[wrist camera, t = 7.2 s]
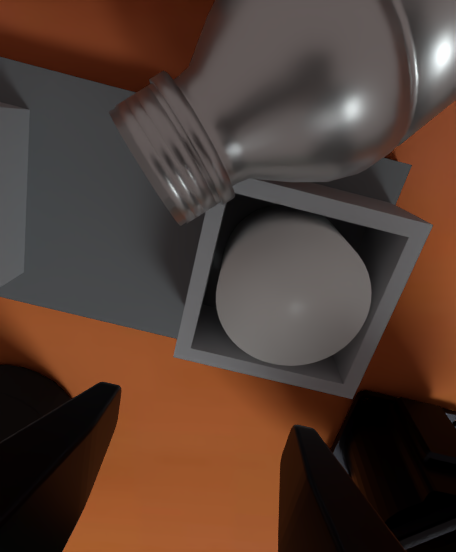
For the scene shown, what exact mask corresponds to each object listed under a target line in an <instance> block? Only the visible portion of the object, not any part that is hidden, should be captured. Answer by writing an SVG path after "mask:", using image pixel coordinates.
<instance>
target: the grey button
mask: <svg viewBox="0 0 456 552" xmlns="http://www.w3.org/2000/svg"><path fill="white" fill-rule="evenodd" d="M371 293H372V292H371V282H370V278H369V274H368V271H367V269H366V267H365V264H364V263H363V261H362V259H361V258H360V256H359V255H358V254H357V253H356V251H355V250H354V249H353V248H352V247H351V245H350V244H349V243H348V242H347V241H346V240H345V238H344V237H343V236H342V235H341V234H340V233H339V232H338V230H337V229H336V228H335V227H334V226H333V225H332V223H331V222H330V221H329V220H328V219H326V218H325V217H324V216H323V215H319V214H315V213H311V212H307V211H303V210H299V209H296V208H292V207H288V206H284V205H280V204H275V205H270V206H267V207H264V208H261V209H259V210H257V211H255V212H253V213H251V214H250V215H248V216H247V217H246V218H244V219H243V220H242V221H241V222H240V223H239V224H238V225H237V226H236V228H235V229H234V230H233V232H232V233H231V235H230V237H229V239H228V241H227V243H226V247H225V250H224V255H223V259H222V264H221V269H220V274H219V279H218V284H217V290H216V307H217V313H218V317H219V320H220V322H221V324H222V327H223V328H224V330H225V332H226V334H227V335H228V336H229V338H230V339H231V340H232V341H233V342H234V343H235V344H236V345H237V346H238V347H239V348H240V349H242V350H243V351H244V352H246V353H247V354H249V355H251V356H252V357H254V358H257V359H259V360H261V361H264V362H267V363H271V364H276V365H285V366H297V365H305V364H310V363H314V362H318V361H320V360H323V359H325V358H328V357H330V356H331V355H333V354H335V353H337V352H338V351H340V350H341V349H343V348H344V347H345V346H346V345H347V344H348V343H350V342H351V340H352V339H353V338H354V337H355V336H356V335H357V333H358V332H359V331H360V329H361V328H362V326H363V324H364V322H365V320H366V318H367V315H368V312H369V309H370V304H371Z"/></svg>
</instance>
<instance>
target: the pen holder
mask: <svg viewBox="0 0 456 552" xmlns="http://www.w3.org/2000/svg"><path fill="white" fill-rule="evenodd" d="M69 400H71V399H70V398H69V396H68V395H67V394H66V393H65V392H64V391H63V390H62V389H61V388H60V387H59V386H58V385H57V384H55V383H54V382H53V381H51V380H50V379H48V378H47V377H45V376H43V375H41V374H39V373H37V372H35V371H32V370H29V369H26V368H23V367H18V366H12V365H0V442H1V441H3V440H5V439H6V438H8V437H10V436H11V435H13V434H15V433H16V432H18V431H20V430H21V429H23V428H25V427H26V426H28V425H29V424H31V423H33V422H34V421H36V420H38V419H39V418H41V417H43V416H44V415H46V414H48V413H49V412H51V411H53V410H54V409H56V408H58V407H59V406H61V405H63V404H64V403H66V402H68V401H69Z"/></svg>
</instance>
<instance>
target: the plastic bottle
mask: <svg viewBox="0 0 456 552" xmlns="http://www.w3.org/2000/svg"><path fill="white" fill-rule="evenodd" d="M149 81H150V84H149V85H148V86H146V87H145V88H143V89H141V90H140V91H138V92H137V93H135V94H134V95H132V96H130V97H129V98H127V99H125V100H124V101H122V102H121V103H119V104H117V105H116V106H115V109H113V110H111V111H109V114H110V116H111V118H112V120H113V122H114V124H115V125H116V127H117V129H118V131H119V132H120V134H121V136H122V138H123V139H124V141H125V143H126V144H127V146H128V148H129V149H130V151H131V153H132V154H133V156H134V158H135V159H136V161H137V163H138V164H139V166H140V167H141V169H142V171H143V172H144V174H145V175H146V177H147V178H148V180H149V182H150V183H151V185H152V186H153V188H154V189H155V191H156V192H157V194H158V196H159V197H160V199H161V200H162V202H163V203H164V205H165V206H166V208H167V209H168V210H169V212H170V213H171V215H172V216H173V218H174V219H175V220H176V222H177V223H178V224H179V225H180V226H181V225H183V224H184V223H189V222H190V221H192V220H193V219H195V218H197V217H198V216H200V215H201V214H203V213H204V212H206V211H208V210H209V209H211V208H212V207H214V206H216V205H217V204H219V203H220V204H221V205H224V204H225V203H227V202H229V201H230V200H232V199H233V198H234V197H235V193H234V189H233V186H234V185H236V184H237V183H240V182H242V181H244V180H247V179H249V178H251V179H261V180H272V181H282V182H329V181H333V180H337V179H340V178H344V177H348V176H352V175H355V174H358V173H360V172H362V171H364V170H366V169H368V168H369V167H370V166H372V165H373V164H375V163H376V162H377V161H379V160H380V159H382V158H383V157H385V156H386V155H388V154H389V153H391V152H392V151H393V150H394V148H395V147H397V146H399V145H400V144H402V143H403V142H404V141H405V140H407V139H408V138H409V137H410V136H412V135H413V134H414V133H415V132H417V131H418V130H419V129H420V128H422V127H423V126H424V125H425V124H427V123H428V122H429V121H430V120H432V119H433V118H434V117H435V116H437V115H438V114H439V113H440V112H442V111H443V110H444V109H445V108H447V107H448V106H449V105H450V104H452V103H453V102H454V101H455V100H456V0H215V1H214V3H213V6H212V8H211V10H210V12H209V14H208V16H207V18H206V21H205V24H204V27H203V29H202V32H201V35H200V37H199V40H198V43H197V46H196V48H195V51H194V54H193V56H192V59H191V62H190V64H189V67H188V68H187V69H186V70H184V71H183V72H182V73H181V74H180V75H179V76H178V77H177V78H175V79H172V78H171V76H170V75H169V74H168V73H167V72H165V71H164V70H163V71H162V72H160V73H159V74H157V75H155V76H154V77H152V78H151V79H149Z"/></svg>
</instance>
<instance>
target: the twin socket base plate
mask: <svg viewBox="0 0 456 552" xmlns="http://www.w3.org/2000/svg"><path fill="white" fill-rule="evenodd" d="M135 93H136V92H132V91H128V90H124V89H121V88H117V87H113V86H109V85H105V84H102V83H98V82H94V81H90V80H86V79H83V78H79V77H75V76H71V75H67V74H64V73H60V72H56V71H52V70H48V69H45V68H41V67H37V66H33V65H29V64H26V63H22V62H18V61H14V60H10V59H7V58H3V57H0V297H4V298H8V299H12V300H16V301H20V302H25V303H29V304H33V305H37V306H41V307H46V308H50V309H54V310H58V311H62V312H67V313H71V314H75V315H79V316H83V317H88V318H92V319H96V320H100V321H104V322H109V323H113V324H117V325H121V326H125V327H130V328H134V329H138V330H142V331H146V332H151V333H155V334H159V335H163V336H167V337H172V338H176V339H177V343H176V347H175V352H174V356H173V357H176V358H180V359H184V360H188V361H193V362H197V363H201V364H205V365H209V366H214V367H218V368H222V369H226V370H231V371H235V372H239V373H243V374H248V375H252V376H256V377H260V378H265V379H269V380H273V381H277V382H282V383H286V384H290V385H294V386H299V387H303V388H307V389H311V390H315V391H320V392H324V393H328V394H332V395H337V396H341V397H345V398H349V399H353V397H354V395H355V393H356V390H357V388H358V386H359V384H360V382H361V380H362V377H363V375H364V373H365V371H366V369H367V367H368V364H369V362H370V360H371V358H372V356H373V354H374V352H375V349H376V347H377V345H378V343H379V341H380V339H381V336H382V334H383V332H384V330H385V328H386V326H387V323H388V321H389V319H390V317H391V315H392V313H393V311H394V308H395V306H396V304H397V302H398V300H399V298H400V295H401V293H402V291H403V289H404V287H405V285H406V282H407V280H408V278H409V276H410V274H411V272H412V270H413V267H414V265H415V263H416V261H417V259H418V257H419V254H420V252H421V250H422V248H423V246H424V244H425V241H426V239H427V237H428V235H429V233H430V231H431V229H432V226H433V225H432V224H430V223H428V222H426V221H424V220H422V219H421V218H419V217H417V216H415V215H413V214H411V213H409V212H407V211H405V210H403V209H402V208H400V207H398V206H396V202H397V200H398V197H399V195H400V193H401V190H402V188H403V185H404V183H405V180H406V178H407V176H408V173H409V171H410V168H411V166H412V165H409V164H406V163H402V162H398V161H394V160H390V159H387V158H382V159H380V160H379V161H377V162H376V163H375V164H373V165H372V166H370V167H369V168H368V169H366V170H364V171H362V172H360V173H358V174H355V175H352V176H348V177H344V178H340V179H337V180H333V181H329V182H282V181H272V180H261V179H251V178H249V179H247V180H244V181H242V182H240V183H237V184H236V185H234V186H233V189H234V193H235V197H234V198H233V199H232V200H230V201H229V202H227V203H225V204H224V205H221V204H220V203H219V204H217V205H216V206H214V207H212V208H211V209H209V210H208V211H206V212H204V213H203V214H201V215H200V216H198V217H197V218H195V219H193V220H192V221H190V222H189V223H184V224H183V225H181V226H180V225H179V224H178V223H177V222H176V220H175V219H174V218H173V216H172V215H171V213H170V212H169V210H168V209H167V208H166V206H165V205H164V203H163V202H162V200H161V199H160V197H159V196H158V194H157V192H156V191H155V189H154V188H153V186H152V185H151V183H150V182H149V180H148V178H147V177H146V175H145V174H144V172H143V171H142V169H141V167H140V166H139V164H138V163H137V161H136V159H135V158H134V156H133V154H132V153H131V151H130V149H129V148H128V146H127V144H126V143H125V141H124V139H123V138H122V136H121V134H120V132H119V131H118V129H117V127H116V125H115V124H114V122H113V120H112V118H111V116H110V114H109V111H111V110H113V109H115V106H116V105H117V104H119V103H121V102H122V101H124V100H125V99H127V98H129V97H130V96H132V95H134V94H135ZM275 204H280V205H284V206H288V207H292V208H296V209H299V210H303V211H307V212H311V213H315V214H319V215H323V216H324V217H325V218H326V219H328V220H329V221H330V222H331V223H332V225H333V226H334V227H335V228H336V229H337V230H338V232H339V233H340V234H341V235H342V236H343V237H344V238H345V240H346V241H347V242H348V243H349V244H350V245H351V247H352V248H353V249H354V250H355V251H356V253H357V254H358V255H359V256H360V258H361V259H362V261H363V263H364V264H365V267H366V269H367V271H368V274H369V278H370V282H371V292H372V293H371V304H370V309H369V312H368V315H367V318H366V320H365V322H364V324H363V326H362V328H361V329H360V331H359V332H358V333H357V335H356V336H355V337H354V338H353V339H352V340H351V342H350V343H348V344H347V345H346V346H345V347H344V348H343V349H341V350H340V351H338V352H337V353H335V354H333V355H331V356H330V357H328V358H325V359H323V360H320V361H318V362H314V363H310V364H305V365H297V366H285V365H276V364H271V363H267V362H264V361H261V360H259V359H257V358H254V357H252V356H251V355H249V354H247V353H246V352H244V351H243V350H242V349H240V348H239V347H238V346H237V345H236V344H235V343H234V342H233V341H232V340H231V339H230V338H229V336H228V335H227V334H226V332H225V330H224V328H223V327H222V324H221V322H220V320H219V317H218V313H217V307H216V290H217V284H218V279H219V274H220V269H221V264H222V259H223V255H224V250H225V247H226V243H227V241H228V239H229V237H230V235H231V233H232V232H233V230H234V229H235V228H236V226H237V225H238V224H239V223H240V222H241V221H242V220H243V219H244V218H246V217H247V216H248V215H250V214H251V213H253V212H255V211H257V210H259V209H261V208H264V207H267V206H270V205H275Z"/></svg>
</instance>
